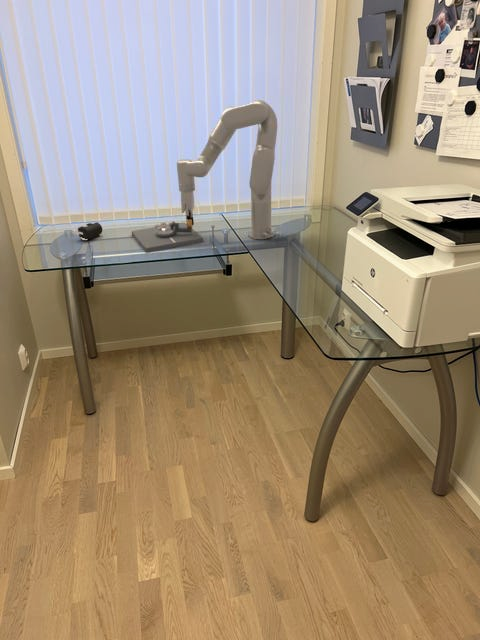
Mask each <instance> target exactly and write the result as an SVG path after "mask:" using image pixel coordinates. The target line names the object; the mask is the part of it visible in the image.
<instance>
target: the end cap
mask: <svg viewBox="0 0 480 640" xmlns="http://www.w3.org/2000/svg"><path fill="white" fill-rule="evenodd" d="M77 232H78V237H79V238H81V237H82V238H85V239H90V240H92V239H94V238H96V236H97V237H98V235H99V236H100V235H101V234H102V233H103V227H102V225H101V224H100V222H97V221H96V222H94V223H91V222H90V223H86V226H79V227H77ZM81 233H82V234H81ZM91 238H92V239H91Z"/></svg>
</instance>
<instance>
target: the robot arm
mask: <svg viewBox="0 0 480 640" xmlns="http://www.w3.org/2000/svg"><path fill="white" fill-rule="evenodd" d="M256 125H257V135H256V136H257V137H256V144H255V149H254V151H253V155H252V160H251V169H250V174H249V175H250V176H249V188H250V209H251V210H250V212H251V213H250V214H251V215H250V216H251V217H250V218H251V230H250V231H249V232H248V237H249V238H250V239H254V240H268V239H267V238H269V239H271V238H270V237H272V238H273V237H275V231H273V230H272V179H273V174H274V173H273V172H274V166H275V160H276V157H275V155H276V153H275V151H276V142H277V134H278V119H277V115H276V113H275V111H274V109H273V108H272V106H270V104H268V103H267V102H266V101H264V100H262V99H256V100H254V101H252V102H251V103H248V104H244V105H239V106H229V107H227V108H226V109H225V110H224V111H223V112H222V113H221V117H220V118H219V120H218V121H217V123H216V125H215V126H214V128H213V130H212V131H211V133H210V135H209V136H208V139H207V143H206V144H205V147H204V148H203V150H202V151H201V153H200V155H199V156H198V158H197V159H196V160H195V161H194V160H192V159H188V158H187V159H184V158H183V159H179V160H178V161H177V162H176V169H177V170H176V171H177V181H178V191H179V192H180V204H181V205H180V207H181V213H182V214H183V213H185V218H186V219H192V227H193V226H194V224H195V222H194V214H193V211H194V209H195V195H194V192H195V191H196V183H195V178H205V177H206V176H207V175H208V174H209V173H210V171H211V169H212V167H213V165H214V164H215V163H216V161H217V160H218V158H219V156H220V155H221V153H222V152H223V151H224V150H225V149H226V147H227V146H228V144H229V142H231V139H232V138H233V136H234V134H236V131H237V130H239V129H244V128H249V127H252V126H256ZM186 219H185V220H186Z"/></svg>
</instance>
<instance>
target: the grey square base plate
mask: <svg viewBox="0 0 480 640" xmlns="http://www.w3.org/2000/svg"><path fill="white" fill-rule="evenodd" d="M178 223H179V227H183V228H187V223H186V222H184V221H182V222H178ZM131 236H132V237H133V238H134V239H135V240H136V242H138V244H139V245H140V246H141V247H142V249H143V250H144V251H145V253H150V252H156V251H160V250H161V251H162V250H167V249H171V248H177V247H183V246H189V245H194V244H198V243H199V244H200V243H204V236H202V235H201V234H199V233H198V232H197V231H196V230H195V229H193V228H192V233H190V232H177V233H176V235H174V236H170V237H158V236H156V231H155V226H154V227H148V228H141V229H135V230H131Z"/></svg>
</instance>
